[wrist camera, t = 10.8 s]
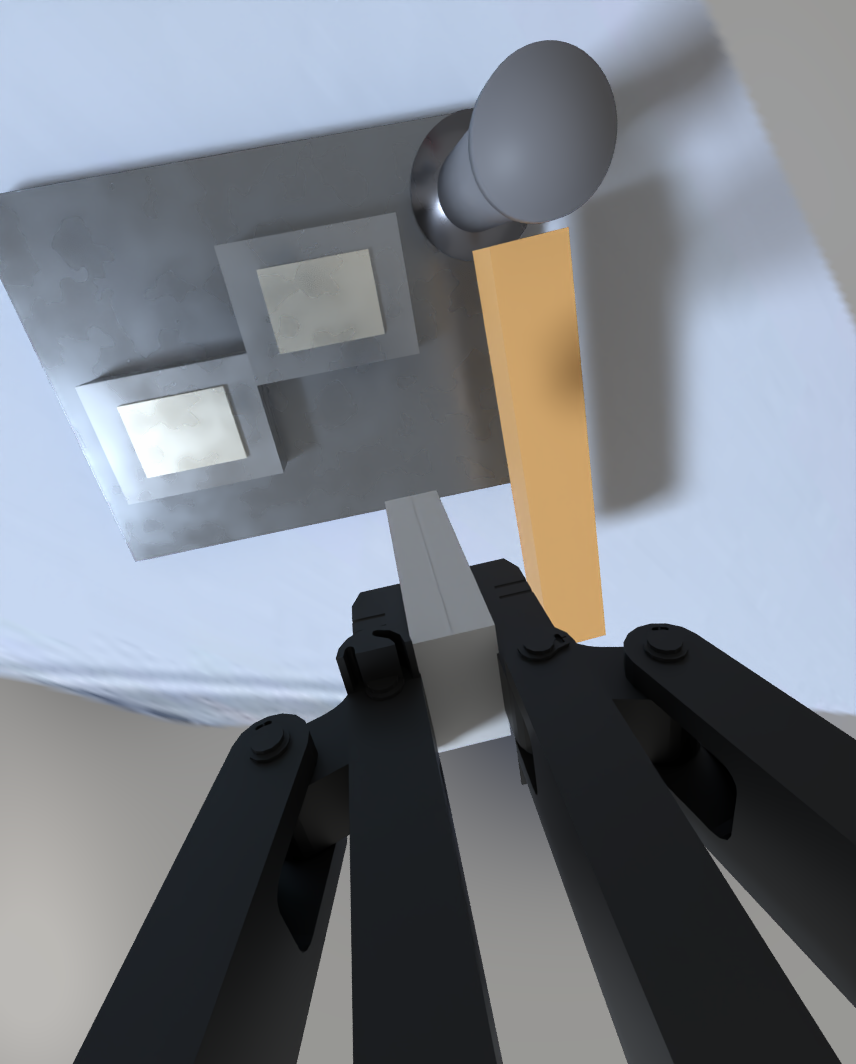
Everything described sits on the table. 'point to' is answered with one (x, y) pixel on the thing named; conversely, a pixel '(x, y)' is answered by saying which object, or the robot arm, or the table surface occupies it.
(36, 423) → the table surface
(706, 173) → the table surface
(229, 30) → the table surface
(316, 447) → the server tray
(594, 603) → the hammer
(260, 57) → the table surface
